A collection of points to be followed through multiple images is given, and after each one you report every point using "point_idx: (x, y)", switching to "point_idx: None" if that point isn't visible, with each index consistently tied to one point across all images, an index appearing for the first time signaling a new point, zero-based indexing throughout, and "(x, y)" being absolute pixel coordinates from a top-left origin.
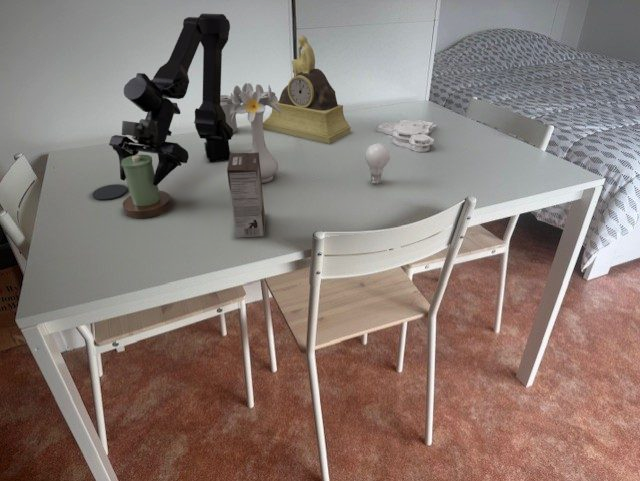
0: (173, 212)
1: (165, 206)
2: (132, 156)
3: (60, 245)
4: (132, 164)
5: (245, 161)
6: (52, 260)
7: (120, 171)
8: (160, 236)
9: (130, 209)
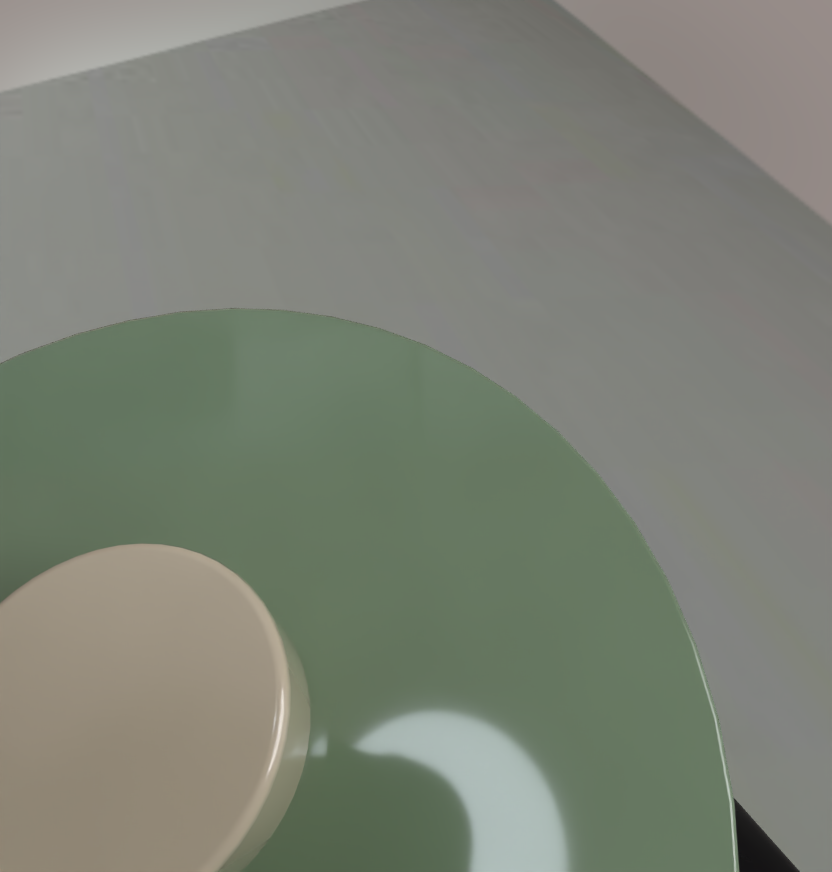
0: None
1: None
2: (268, 743)
3: (710, 248)
4: (209, 377)
5: None
6: (644, 154)
7: (779, 860)
8: None
9: None
